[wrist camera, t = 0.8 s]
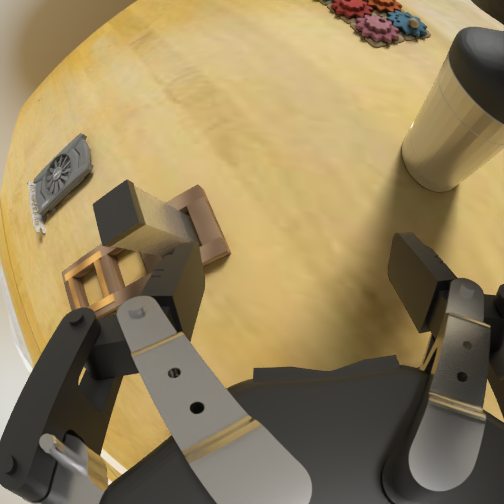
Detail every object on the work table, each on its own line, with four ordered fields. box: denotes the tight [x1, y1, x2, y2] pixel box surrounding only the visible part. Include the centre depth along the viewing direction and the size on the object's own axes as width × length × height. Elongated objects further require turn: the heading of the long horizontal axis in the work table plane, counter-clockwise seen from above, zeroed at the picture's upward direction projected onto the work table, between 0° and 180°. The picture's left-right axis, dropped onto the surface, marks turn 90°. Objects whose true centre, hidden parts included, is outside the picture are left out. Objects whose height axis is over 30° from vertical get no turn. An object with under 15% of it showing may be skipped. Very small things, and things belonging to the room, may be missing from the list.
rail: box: [62, 185, 231, 319], centre depth 35 cm, size 26×9×2 cm, turn 115°
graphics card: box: [27, 133, 93, 233], centre depth 41 cm, size 17×4×12 cm
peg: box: [93, 180, 202, 257], centre depth 29 cm, size 4×4×14 cm
